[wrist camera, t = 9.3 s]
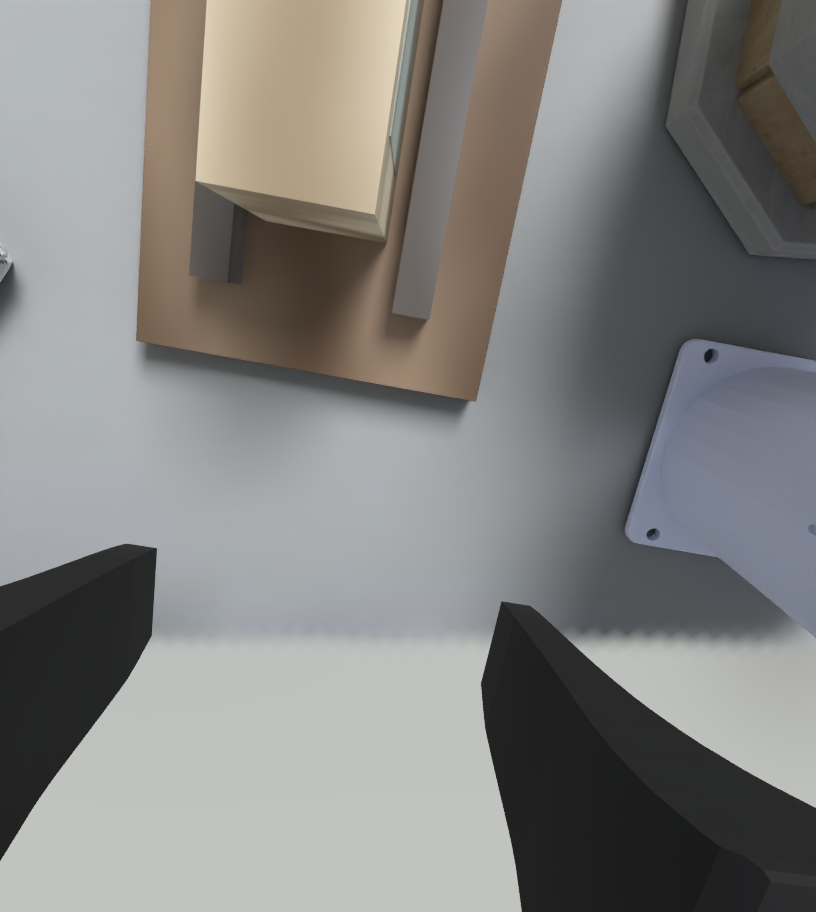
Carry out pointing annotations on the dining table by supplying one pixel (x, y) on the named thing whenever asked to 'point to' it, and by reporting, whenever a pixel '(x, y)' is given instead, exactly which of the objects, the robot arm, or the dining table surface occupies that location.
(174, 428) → the dining table surface
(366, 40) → the pale wooden bar
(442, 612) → the dining table surface
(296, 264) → the walnut ledge
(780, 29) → the tankard
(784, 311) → the dining table surface
